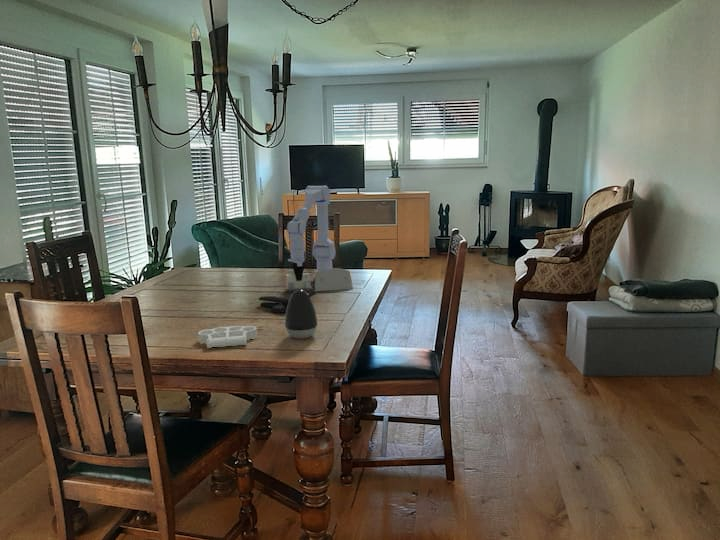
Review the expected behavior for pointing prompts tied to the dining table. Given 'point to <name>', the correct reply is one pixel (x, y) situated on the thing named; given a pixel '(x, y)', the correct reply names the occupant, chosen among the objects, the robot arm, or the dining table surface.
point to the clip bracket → (291, 288)
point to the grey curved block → (333, 279)
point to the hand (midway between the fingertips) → (298, 279)
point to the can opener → (275, 306)
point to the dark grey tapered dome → (301, 315)
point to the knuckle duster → (227, 336)
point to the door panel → (298, 283)
